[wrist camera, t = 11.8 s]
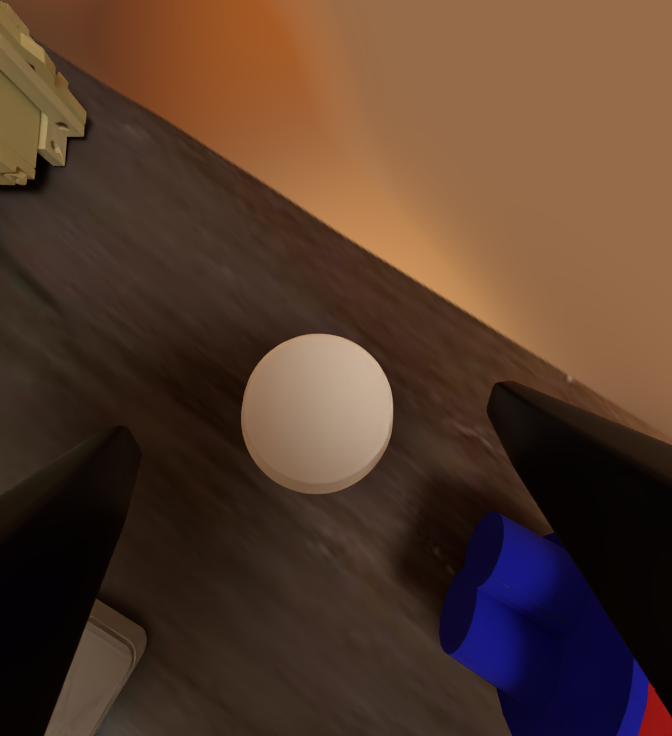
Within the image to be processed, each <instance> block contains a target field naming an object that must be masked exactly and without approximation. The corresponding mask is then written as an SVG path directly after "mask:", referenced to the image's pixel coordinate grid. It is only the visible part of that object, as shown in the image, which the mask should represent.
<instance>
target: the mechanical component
mask: <svg viewBox="0 0 672 736" xmlns="http://www.w3.org/2000/svg"><path fill="white" fill-rule="evenodd" d="M86 114H87V112H86V111H85V110H84V108H83V107H82V106H81V105H80V104H79V102H78V101H77V100H76V99H75V97H74V96H73V95H72V94H71V93H70V91H69V90H68V82H67V81H66V79H65V78H64V77H63V76H62V75H61V73H60V72H59V71H58V75H56V74H55V65H54V63H53V62H52V60H51V59H50V58H49V56H48V55H47V53H46V52H45V50H44V49H43V48H42V47H41V46H39V45H38V44H36V43H35V42H34V41H33V39H32V38H31V37H30V36H29V29H28V28H27V27H26V26H25V24H24V23H23V22H22V21H21V19H20V18H19V17H18V16H17V15H16V13H15V12H14V11H13V10H12V8H11V7H10V6H9V5H8V3H3V2H2V1H1V0H0V185H15V183H16V184H20V185H26V183H27V179H34V178H35V169H34V168H36V157H37V153H39V154H40V155H41V156H42V157H43V158H45V159H46V160H47V161H48V162H49V163H50V164H52V165H53V166H65V156H66V144H67V137H84V125H85V123H86Z"/></svg>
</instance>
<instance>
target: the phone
mask: <svg viewBox="0 0 672 736" xmlns="http://www.w3.org/2000/svg"><path fill="white" fill-rule="evenodd" d="M146 645H147V635H146V632H145V630H144V629H143V628H142V627H141V626H139V625H137V624H136V623H134V622H133V621H131V620H129V619H128V618H126V617H125V616H123V615H122V614H120V613H118V612H117V611H115V610H114V609H112V608H110V607H109V606H107V605H106V604H104V603H103V602H101V601H99V600H98V599H96V600H95V603H94V605H93V608H92V611H91V613H90V616H89V619H88V621H87V624H86V627H85V629H84V632H83V634H82V637H81V640H80V642H79V645H78V648H77V650H76V653H75V656H74V658H73V661H72V663H71V666H70V669H69V671H68V674H67V677H66V679H65V682H64V685H63V687H62V690H61V693H60V695H59V698H58V700H57V703H56V706H55V708H54V711H53V714H52V716H51V719H50V722H49V724H48V727H47V730H46V732H45V735H44V736H95V734H96V733H97V731H98V729H99V727H100V726H101V724H102V722H103V721H104V719H105V717H106V716H107V714H108V712H109V711H110V709H111V707H112V706H113V704H114V702H115V701H116V699H117V697H118V695H119V694H120V692H121V690H122V689H123V687H124V685H125V684H126V682H127V680H128V679H129V677H130V675H131V674H132V672H133V670H134V669H135V667H136V665H137V663H138V662H139V660H140V658H141V657H142V655H143V653H144V651H145V648H146Z"/></svg>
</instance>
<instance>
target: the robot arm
mask: <svg viewBox="0 0 672 736" xmlns="http://www.w3.org/2000/svg"><path fill="white" fill-rule="evenodd" d="M487 414H488V417H489V419H490V421H491V423H492V425H493V427H494V429H495V431H496V433H497V435H498V437H499V439H500V441H501V443H502V445H503V447H504V449H505V451H506V453H507V455H508V457H509V459H510V461H511V463H512V465H513V467H514V468H515V470H516V472H517V473H518V475H519V477H520V478H521V480H522V481H523V483H524V485H525V486H526V488H527V489H528V491H529V492H530V494H531V496H532V497H533V499H534V500H535V502H536V504H537V505H538V507H539V508H540V510H541V511H542V513H543V515H544V516H545V518H546V519H547V521H548V523H549V524H550V526H551V527H552V529H553V530H554V532H555V534H556V535H557V537H558V538H559V540H560V541H561V543H562V545H563V546H564V548H565V549H566V551H567V553H568V554H569V556H570V557H571V559H572V560H573V562H574V564H575V565H576V567H577V568H578V570H579V572H580V573H581V575H582V576H583V578H584V579H585V581H586V583H587V584H588V586H589V587H590V589H591V590H592V592H593V594H594V595H595V597H596V598H597V600H598V602H599V603H600V605H601V606H602V608H603V609H604V611H605V613H606V614H607V616H608V617H609V619H610V620H611V622H612V624H613V625H614V627H615V628H616V630H617V632H618V633H619V635H620V636H621V638H622V639H623V641H624V643H625V644H626V646H627V647H628V649H629V651H630V652H631V654H632V655H633V657H634V658H635V660H636V662H637V663H638V665H639V666H640V668H641V669H642V671H643V673H644V674H645V676H646V677H647V679H648V681H649V682H650V684H651V685H652V687H654V688H655V692H656V694H657V695H658V697H659V698H660V700H661V702H662V703H663V705H664V706H665V708H666V710H667V711H668V713H669V714H670V716H671V717H672V445H670V444H668V443H665V442H663V441H660V440H658V439H655V438H653V437H650V436H648V435H645V434H643V433H640V432H638V431H635V430H633V429H630V428H628V427H625V426H623V425H620V424H618V423H615V422H613V421H611V420H608V419H606V418H603V417H601V416H598V415H596V414H593V413H591V412H588V411H586V410H583V409H581V408H578V407H576V406H573V405H571V404H568V403H566V402H563V401H561V400H559V399H556V398H554V397H551V396H549V395H546V394H544V393H541V392H539V391H536V390H534V389H531V388H529V387H526V386H524V385H521V384H519V383H516V382H514V381H505V382H498V383H496V384H495V385H494V386H493V388H492V392H491V395H490V398H489V402H488V405H487ZM141 459H142V453H141V449H140V447H139V445H138V444H137V442H136V440H135V438H134V436H133V435H132V433H131V431H130V429H129V428H128V427H127V426H124V425H120V426H111V427H105V428H103V429H101V430H100V431H98V432H97V433H95V434H94V435H92V436H91V437H89V438H88V439H86V440H85V441H83V442H82V443H80V444H78V445H77V446H75V447H74V448H72V449H71V450H69V451H68V452H66V453H65V454H63V455H62V456H60V457H59V458H57V459H56V460H54V461H53V462H51V463H49V464H48V465H46V466H45V467H43V468H42V469H40V470H39V471H37V472H36V473H34V474H33V475H31V476H30V477H28V478H27V479H25V480H23V481H22V482H20V483H19V484H17V485H16V486H14V487H13V488H11V489H10V490H8V491H7V492H5V493H4V494H2V495H1V496H0V736H44V735H45V732H46V730H47V727H48V724H49V722H50V719H51V716H52V714H53V711H54V708H55V706H56V703H57V700H58V698H59V695H60V693H61V690H62V687H63V685H64V682H65V679H66V677H67V674H68V671H69V669H70V666H71V663H72V661H73V658H74V656H75V653H76V650H77V648H78V645H79V642H80V640H81V637H82V634H83V632H84V629H85V627H86V624H87V621H88V619H89V616H90V613H91V611H92V608H93V605H94V603H95V600H96V597H97V595H98V592H99V590H100V587H101V584H102V582H103V579H104V576H105V574H106V571H107V568H108V566H109V563H110V560H111V558H112V555H113V553H114V550H115V547H116V545H117V542H118V539H119V537H120V534H121V531H122V528H123V525H124V523H125V519H126V516H127V513H128V509H129V505H130V501H131V497H132V494H133V490H134V486H135V482H136V478H137V475H138V471H139V467H140V463H141Z"/></svg>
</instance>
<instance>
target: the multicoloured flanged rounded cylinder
mask: <svg viewBox="0 0 672 736" xmlns="http://www.w3.org/2000/svg"><path fill="white" fill-rule="evenodd" d="M439 634H440V642H441V646H442V648H443V651H444V652H445V653H447V654H448V655H450V656H451V657H452V658H454V659H455V660H457V661H458V662H460V663H461V664H463V665H464V666H466V667H467V668H469V669H470V670H472V671H473V672H475V673H476V674H478V675H479V676H481V677H482V678H484V679H485V680H487V681H488V682H489V683H491V684H492V685H494V686H495V687H497V692H498V696H499V700H500V704H501V707H502V711H503V715H504V717H505V720H506V722H507V724H508V727H509V729H510V732H511V734H512V735H513V736H672V717H671V716H670V714H669V713H668V711H667V710H666V708H665V706H664V705H663V703H662V702H661V700H660V698H659V697H658V695H657V694H656V692H655V688H654V687H652V685H651V684H650V682H649V681H648V679H647V677H646V676H645V674H644V673H643V671H642V669H641V668H640V666H639V665H638V663H637V662H636V660H635V658H634V657H633V655H632V654H631V652H630V651H629V649H628V647H627V646H626V644H625V643H624V641H623V639H622V638H621V636H620V635H619V633H618V632H617V630H616V628H615V627H614V625H613V624H612V622H611V620H610V619H609V617H608V616H607V614H606V613H605V611H604V609H603V608H602V606H601V605H600V603H599V602H598V600H597V598H596V597H595V595H594V594H593V592H592V590H591V589H590V587H589V586H588V584H587V583H586V581H585V579H584V578H583V576H582V575H581V573H580V572H579V570H578V568H577V567H576V565H575V564H574V562H573V560H572V559H571V557H570V556H569V554H568V553H567V551H566V549H565V548H564V546H563V545H562V543H561V541H560V540H559V538H558V537H557V535H556V534H555V533H552V534H549V535H546V536H544V537H542V536H540V535H538V534H536V533H535V532H533V531H531V530H529V529H527V528H525V527H524V526H522V525H520V524H518V523H516V522H514V521H513V520H511V519H509V518H507V517H505V516H504V515H502V514H500V513H498V512H494V511H493V512H490V513H488V514H487V515H485V516H484V517H483V518H482V519H481V521H480V522H479V523H478V525H477V526H476V528H475V530H474V532H473V534H472V537H471V539H470V542H469V545H468V548H467V552H466V557H465V568H464V569H462V570H460V572H459V573H458V574H457V575H456V576H455V577H454V579H453V581H452V583H451V585H450V587H449V589H448V592H447V595H446V597H445V600H444V604H443V608H442V612H441V618H440V631H439Z"/></svg>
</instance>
